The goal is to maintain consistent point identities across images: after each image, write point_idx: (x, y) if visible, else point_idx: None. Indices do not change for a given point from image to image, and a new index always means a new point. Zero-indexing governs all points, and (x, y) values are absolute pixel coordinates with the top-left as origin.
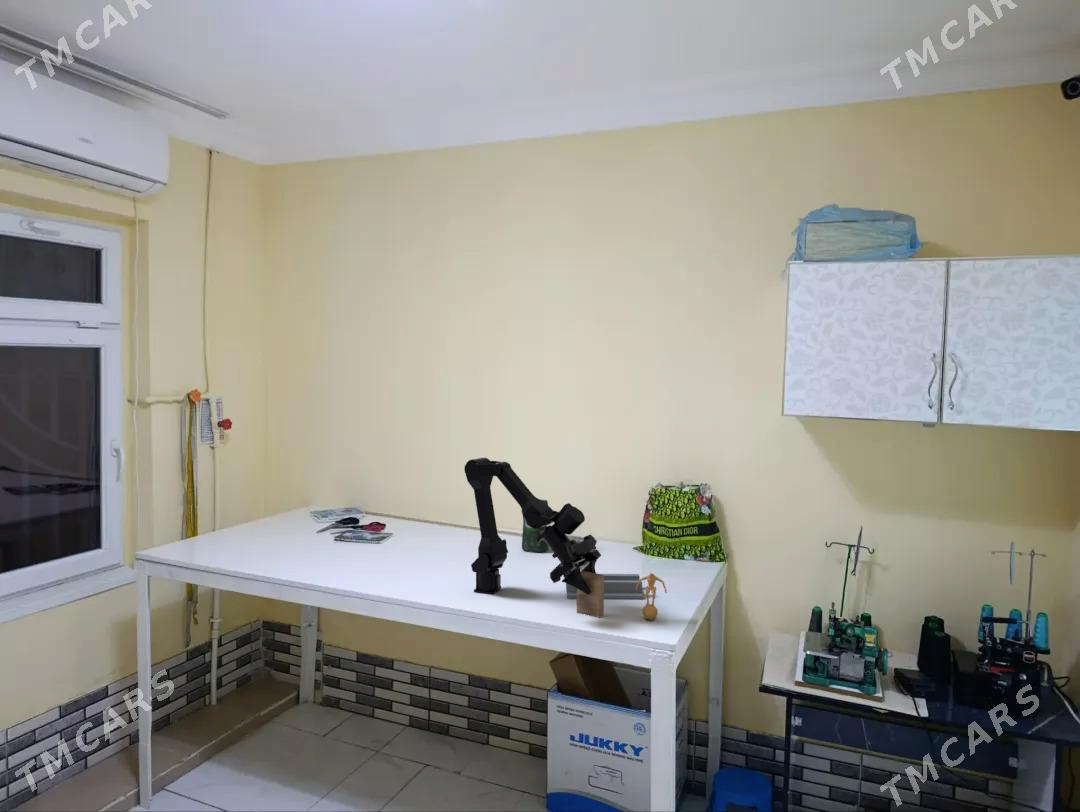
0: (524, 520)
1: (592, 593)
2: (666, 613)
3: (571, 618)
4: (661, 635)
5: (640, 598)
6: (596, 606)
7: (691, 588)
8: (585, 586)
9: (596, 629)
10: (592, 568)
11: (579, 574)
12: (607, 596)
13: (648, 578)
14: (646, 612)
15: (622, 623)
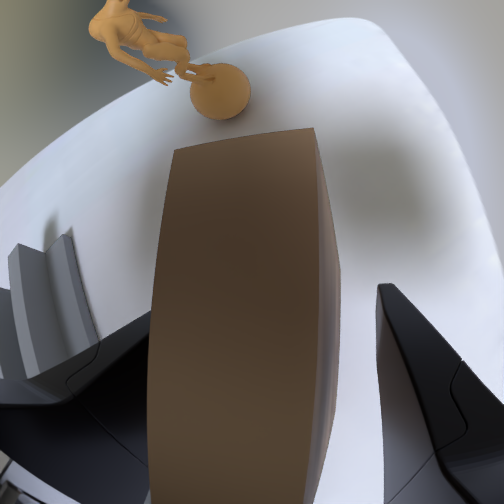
0: None
1: (335, 299)
2: (157, 113)
3: None
4: (338, 37)
5: (70, 244)
6: (338, 276)
7: (13, 191)
8: (430, 327)
9: (466, 202)
10: (48, 397)
11: (494, 458)
12: None
13: (125, 16)
14: (245, 81)
15: (333, 151)
